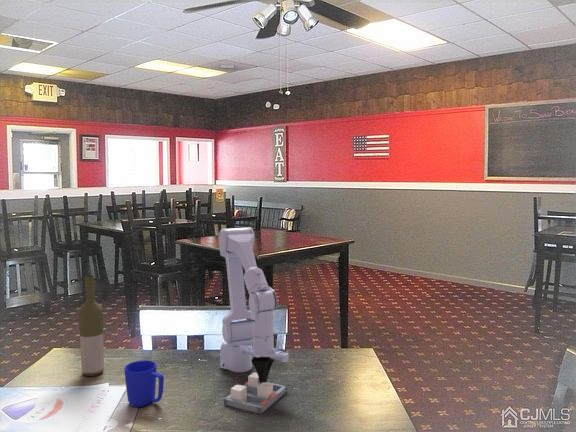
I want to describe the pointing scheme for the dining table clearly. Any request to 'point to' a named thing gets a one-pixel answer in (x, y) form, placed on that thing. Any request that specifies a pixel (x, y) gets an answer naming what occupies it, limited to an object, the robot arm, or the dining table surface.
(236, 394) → the tab near
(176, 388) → the dining table surface
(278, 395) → the switch bank
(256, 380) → the tab far
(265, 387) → the tab mid
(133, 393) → the mug
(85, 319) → the bottle
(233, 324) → the robot arm
